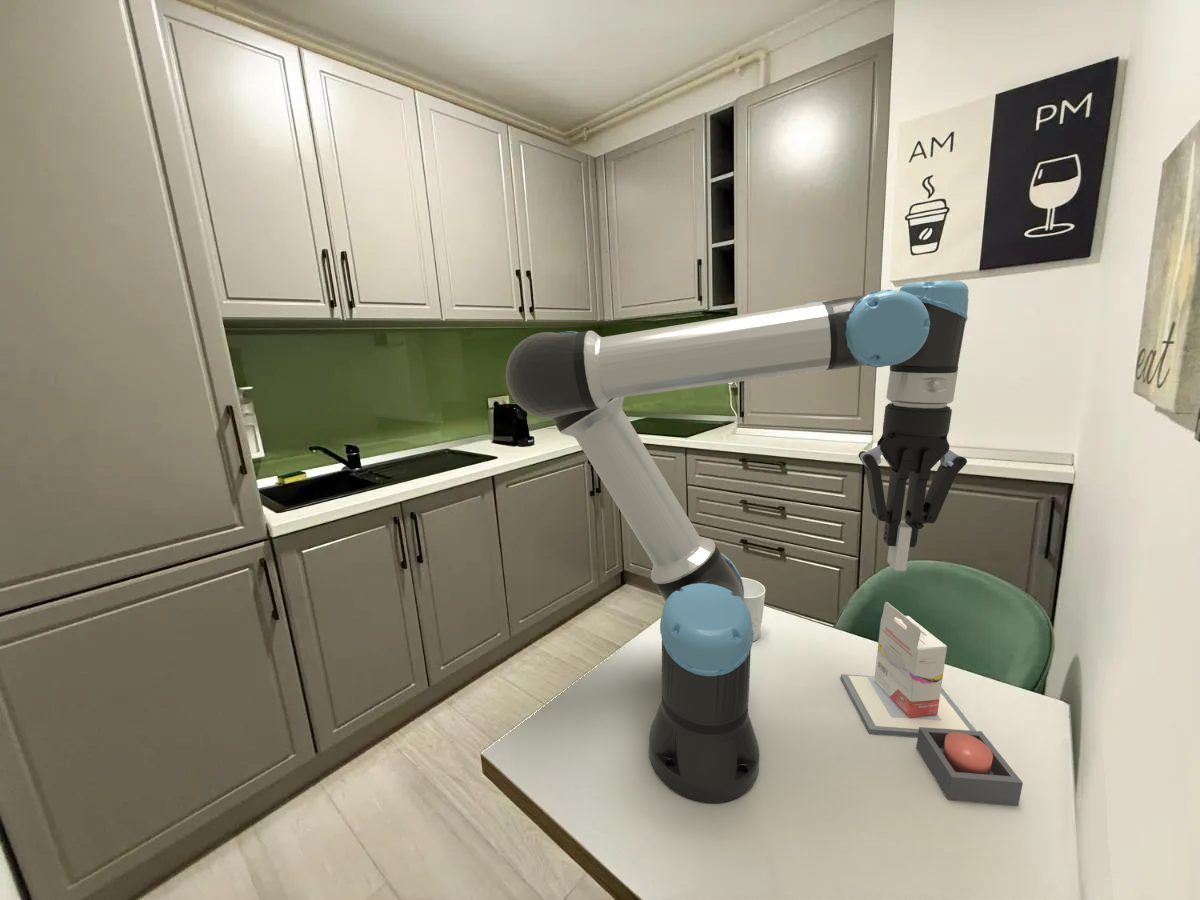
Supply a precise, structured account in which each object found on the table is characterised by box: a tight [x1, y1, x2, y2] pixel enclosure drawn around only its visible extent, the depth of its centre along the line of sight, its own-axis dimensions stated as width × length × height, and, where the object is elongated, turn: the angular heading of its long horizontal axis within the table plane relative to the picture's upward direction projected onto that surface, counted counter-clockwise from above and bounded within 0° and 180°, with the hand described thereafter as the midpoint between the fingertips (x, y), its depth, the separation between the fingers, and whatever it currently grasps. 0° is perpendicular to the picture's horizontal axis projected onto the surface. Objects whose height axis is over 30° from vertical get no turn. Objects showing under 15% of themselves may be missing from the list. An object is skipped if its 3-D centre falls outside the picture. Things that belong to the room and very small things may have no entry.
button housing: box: [915, 727, 1024, 807], centre depth 64 cm, size 8×8×4 cm
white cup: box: [741, 577, 766, 643], centre depth 95 cm, size 8×8×10 cm
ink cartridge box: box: [874, 601, 948, 717], centre depth 75 cm, size 9×5×15 cm, turn 5°
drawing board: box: [840, 673, 977, 738], centre depth 76 cm, size 15×12×1 cm
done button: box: [943, 732, 993, 775], centre depth 64 cm, size 5×5×2 cm
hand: (896, 566), depth 70 cm, fingers closed
